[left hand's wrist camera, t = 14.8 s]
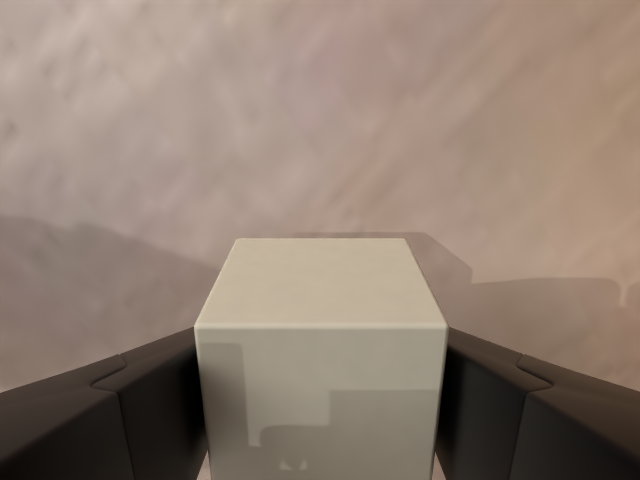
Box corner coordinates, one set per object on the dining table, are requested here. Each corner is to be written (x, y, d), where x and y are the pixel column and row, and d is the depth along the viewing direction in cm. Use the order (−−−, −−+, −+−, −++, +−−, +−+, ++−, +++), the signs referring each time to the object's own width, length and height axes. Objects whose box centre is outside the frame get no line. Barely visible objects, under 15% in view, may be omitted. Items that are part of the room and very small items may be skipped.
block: (235, 236, 12) (191, 324, 8) (406, 236, 12) (451, 325, 8) (246, 380, 13) (213, 514, 9) (396, 379, 13) (429, 515, 9)
